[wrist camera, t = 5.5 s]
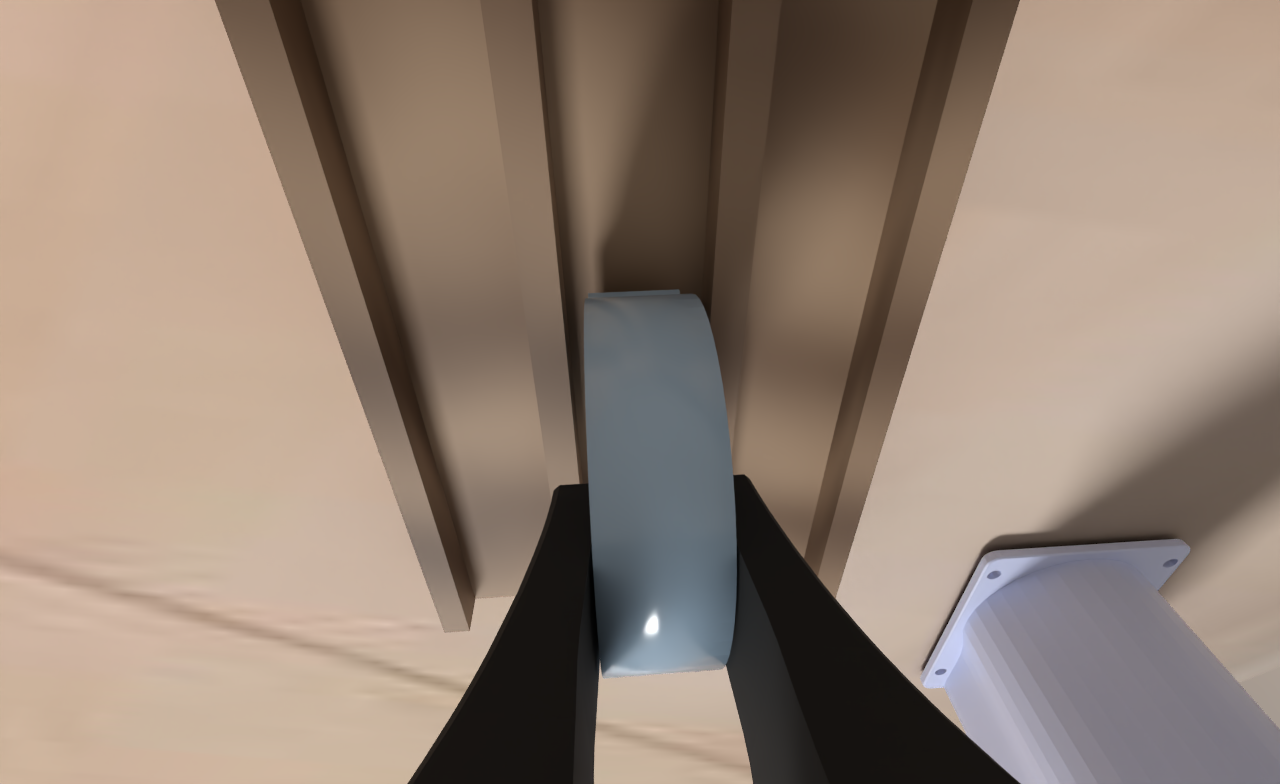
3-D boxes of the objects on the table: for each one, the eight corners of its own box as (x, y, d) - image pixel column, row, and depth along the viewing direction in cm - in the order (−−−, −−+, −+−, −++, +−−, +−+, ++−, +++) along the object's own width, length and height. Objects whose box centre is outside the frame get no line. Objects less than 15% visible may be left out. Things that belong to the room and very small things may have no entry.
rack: (827, 547, 22) (850, 604, 20) (440, 571, 21) (425, 633, 19) (1016, -147, 11) (1110, -167, 9) (201, -142, 10) (109, -163, 8)
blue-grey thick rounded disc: (673, 473, 17) (716, 742, 11) (600, 477, 17) (609, 751, 11) (681, 233, 12) (758, 475, 7) (584, 236, 12) (583, 485, 7)
